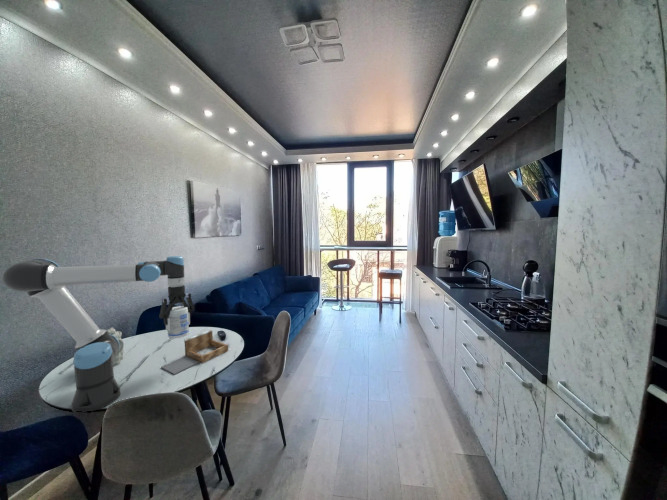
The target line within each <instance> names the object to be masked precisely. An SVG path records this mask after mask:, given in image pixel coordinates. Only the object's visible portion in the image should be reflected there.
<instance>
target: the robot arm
mask: <svg viewBox="0 0 667 500" xmlns="http://www.w3.org/2000/svg"><path fill="white" fill-rule="evenodd" d="M160 276H167V286H168V287H167V292H168V293H167V294H168V296H167V297H163V298H161V305H160V306H161V307H160V310H159V315H158V317H159V318H160V319H163V325H165V331H167V332H168V331H170V318H168V316H169V314H170V311H171V310H172V308H173V307H175V305H176V304H181V305H182V306H184V307H187V308H188V325H191V318H192V313H193V311H195V306H194V302H193V300H192V293H189V292H186V286H185V284H186V283H185V263H184V257H183V256H181V255H173V256H166V260H159V261H158V260H156V261H153V260H152V261H140V262H138V263H137V264H113V265H109V264H108V265H82V266H79V265H78V266H77V265H76V266H60V265H58V263H56V262H55V261H53V260H50V259H46V258H33V259H30V260H25V261H21V262H17V263H14V264H11V265H10V266H9V267H7V268H6V269H5V270H4V271H3V273H2V276H1V277H2V279H1V280H2V283H3V284H4V285H5V287H7V288H9V289H10V290H12V291H15V292H22V293H25V292H26V294H27V295H29V297H31V298H35V299H36V298H38V299H39V301H40V302H41V303H42V304H43V305H44V306H45V308H46V309H48V311H49V312H50V313H51V314H52V315H53V317H55V319H56V320H57V321H58V322H59V324H60V325H61V326H62V327H63V328H64V329H65V330H66V331H67V333H68V334H69V335H70V336H71V337H72V338H73V340H74V341H75V346H74V348H75V349H76V351H75V353H74V354H73V359H72V363H73V368H74V369H73V371H74V378H75V389H76V390H75V393H74V396H73V399H72V402H71V411H72V412H73V413H75V414H86V413H88V412H87V411H91V412H95V411H97V410H100V409H102V408H105V407H106V406H109V405H110V404H112V403H113V402H114V401H115V402H116V400H117V399H118V398H119V397H120V396H121V387H120V385H119V384H118V382H117V380H116V379H115V375H114V374H115V373H114V372H115V371H114V366H113V360H114V358H115V356H116V354H117V352H118V350H119V341H118V339H117V338H116V337H115V336H113V335H110V334H109V333H108V332H107V331H106V330H107V329H103V328H102V329H101V328H100V327H99V326H98V325H97V324H96V323H95V321H94V320H93V319H92V318H91V316H90V315H89V314H88V313H87V312H86V311H85V310H84V308H83V307H82V306H81V304H80V303H79V301H78V300H77V299H76V298H75V297H74V295H72V293H71V292H70V291H69V289H68V288H67V287H68V286H78V285H79V286H80V285H96V284H112V283H127V282H129V283H131V282H147V283H148V282H149V283H151V282H155V281H156V280H157V279H159V278H160ZM66 286H67V287H66ZM185 298H186V300H185ZM76 411H82V412H76Z"/></svg>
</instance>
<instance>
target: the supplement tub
mask: <svg viewBox="0 0 667 500" xmlns="http://www.w3.org/2000/svg"><path fill="white" fill-rule="evenodd" d="M168 318H170V331H167V337H168V338H169V339H181V338H184V337H186V336H188V334H189V332H190V331H189V330H190V329H189V327H190V326H189V325H190V324H189V325H188V308H187V307H184V306H183V305H182V306H181V305H179V306H173V308H172V310H171V311H170V314H169V316H168Z"/></svg>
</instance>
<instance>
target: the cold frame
mask: <svg viewBox="0 0 667 500" xmlns="http://www.w3.org/2000/svg"><path fill="white" fill-rule="evenodd" d="M183 342H184V355H185V356H187V357H189V358H191V359H194V360H196V361H198V362H199V363H202V364H203V363H205V362H207V361H209V360H212V359H214V358H215V357H218V356H220V355H222V354H224V353H226V352H228V351H229V344H227V343H224V342H220V341H218V340H215V339H214V337H213V330H212V329H209V330H206V331H204V332H201V333H199V334H196V335H193V336H191V337H188V338H186V339H183ZM208 347H209V348H210V347H214V348H216V349H214V350H212V351H209V352H207V353H204V354H200V353H198V352H199V351H202V350H204V349H207V348H208ZM185 356H184V357H185Z"/></svg>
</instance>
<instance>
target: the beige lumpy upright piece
mask: <svg viewBox="0 0 667 500" xmlns="http://www.w3.org/2000/svg"><path fill="white" fill-rule="evenodd" d="M105 330H106V331H107V332H108V333H109V334H110V335H113V336H115V337H116V338H117V339H118V341H119V350H118V352H117V354H116V356H115V358H114V360H113V367H116V366H117V365H119V364H121V360H123V359H124V351H125V350H124V345H125V344H124V339H122V335H123V333H122V331H118V330H116V329H115V328H114V327H110V328H108V329H105Z"/></svg>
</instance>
